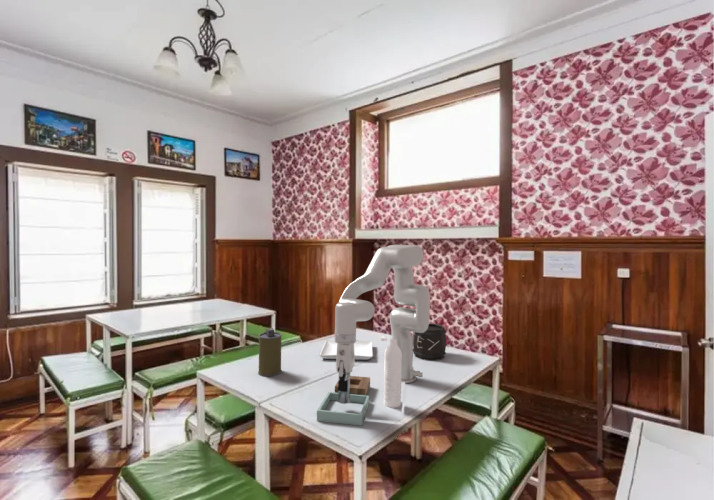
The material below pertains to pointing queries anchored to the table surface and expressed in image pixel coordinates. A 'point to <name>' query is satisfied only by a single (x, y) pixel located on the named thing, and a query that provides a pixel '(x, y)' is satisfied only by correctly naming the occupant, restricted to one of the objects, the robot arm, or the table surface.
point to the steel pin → (345, 396)
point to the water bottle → (392, 374)
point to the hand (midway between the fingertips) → (344, 388)
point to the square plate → (360, 350)
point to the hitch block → (357, 385)
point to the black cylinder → (430, 343)
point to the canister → (269, 353)
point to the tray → (342, 416)
